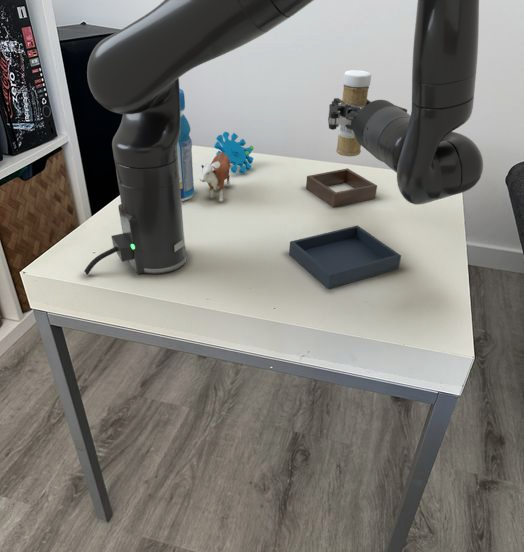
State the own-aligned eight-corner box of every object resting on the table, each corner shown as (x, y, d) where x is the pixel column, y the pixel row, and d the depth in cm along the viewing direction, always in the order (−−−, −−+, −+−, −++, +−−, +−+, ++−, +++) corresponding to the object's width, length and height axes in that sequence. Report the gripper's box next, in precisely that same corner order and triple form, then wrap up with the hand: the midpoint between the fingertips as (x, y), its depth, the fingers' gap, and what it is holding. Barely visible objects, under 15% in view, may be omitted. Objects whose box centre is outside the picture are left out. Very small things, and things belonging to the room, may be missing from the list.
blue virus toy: (229, 173, 114) (210, 131, 114) (215, 186, 119) (197, 146, 119) (264, 167, 121) (247, 128, 121) (250, 180, 126) (233, 142, 126)
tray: (328, 288, 82) (329, 275, 81) (289, 254, 91) (289, 241, 89) (398, 268, 88) (401, 255, 86) (355, 237, 96) (357, 225, 94)
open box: (333, 207, 106) (334, 194, 104) (305, 188, 113) (306, 175, 111) (375, 198, 110) (377, 185, 108) (346, 180, 117) (347, 168, 115)
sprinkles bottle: (365, 154, 96) (377, 73, 87) (346, 158, 94) (356, 76, 85) (348, 147, 99) (359, 68, 90) (330, 151, 97) (338, 70, 88)
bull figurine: (197, 207, 104) (195, 167, 99) (216, 182, 114) (215, 144, 109) (219, 210, 104) (217, 169, 98) (236, 184, 114) (235, 146, 109)
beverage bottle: (202, 197, 108) (196, 93, 95) (165, 206, 104) (154, 99, 91) (183, 184, 113) (175, 83, 101) (147, 192, 110) (134, 88, 97)
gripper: (434, 104, 80) (388, 79, 92) (346, 108, 77) (311, 81, 90) (424, 154, 84) (381, 123, 97) (340, 160, 82) (308, 127, 94)
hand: (347, 103), depth 93 cm, fingers closed on sprinkles bottle, 4 cm apart
